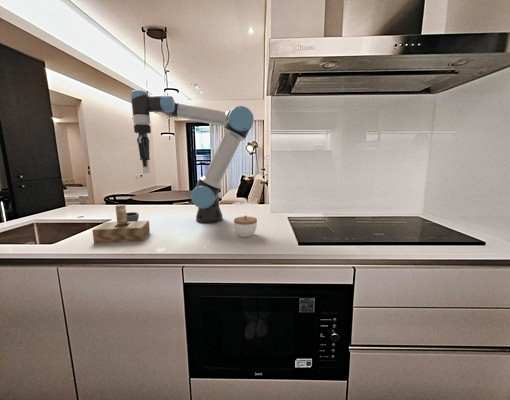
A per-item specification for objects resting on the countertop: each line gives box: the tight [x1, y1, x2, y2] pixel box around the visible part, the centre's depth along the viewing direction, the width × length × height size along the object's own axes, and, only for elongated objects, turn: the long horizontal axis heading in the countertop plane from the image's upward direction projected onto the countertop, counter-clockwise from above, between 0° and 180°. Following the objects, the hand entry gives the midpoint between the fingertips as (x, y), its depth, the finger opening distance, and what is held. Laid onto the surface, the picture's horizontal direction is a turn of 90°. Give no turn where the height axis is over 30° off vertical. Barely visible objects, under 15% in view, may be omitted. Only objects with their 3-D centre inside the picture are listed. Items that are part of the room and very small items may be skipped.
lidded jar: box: [233, 215, 258, 238], centre depth 118 cm, size 11×11×9 cm
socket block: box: [91, 220, 151, 244], centre depth 116 cm, size 20×12×6 cm, turn 98°
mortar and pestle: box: [119, 203, 140, 222], centre depth 133 cm, size 11×9×12 cm
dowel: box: [115, 204, 127, 227], centre depth 116 cm, size 4×4×14 cm
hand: (146, 173), depth 128 cm, fingers closed
